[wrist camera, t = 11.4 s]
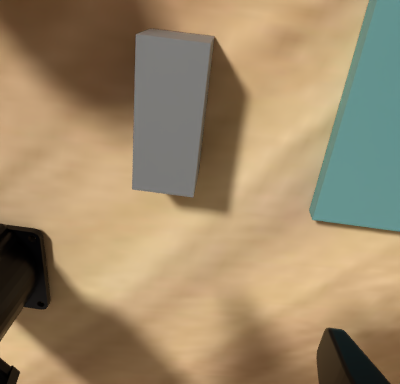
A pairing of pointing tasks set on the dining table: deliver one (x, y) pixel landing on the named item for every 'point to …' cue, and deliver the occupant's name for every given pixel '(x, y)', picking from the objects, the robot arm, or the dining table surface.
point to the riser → (169, 109)
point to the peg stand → (366, 131)
